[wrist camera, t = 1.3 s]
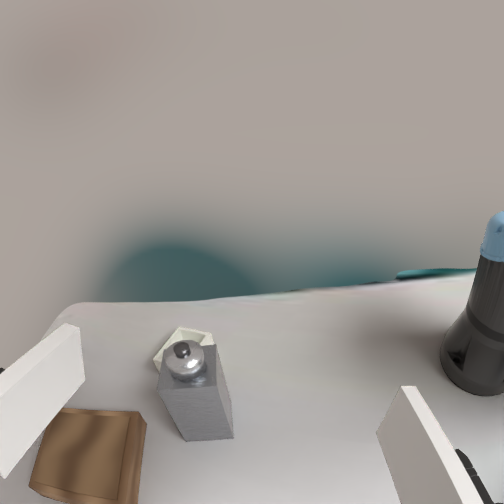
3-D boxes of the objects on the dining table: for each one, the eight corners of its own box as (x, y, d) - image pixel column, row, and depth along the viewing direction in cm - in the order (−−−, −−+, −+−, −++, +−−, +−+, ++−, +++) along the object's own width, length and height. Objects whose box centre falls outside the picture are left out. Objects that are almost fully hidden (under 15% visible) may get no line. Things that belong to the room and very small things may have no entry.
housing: (231, 401, 37) (211, 324, 31) (233, 438, 32) (210, 366, 26) (187, 405, 37) (156, 330, 31) (185, 441, 32) (147, 371, 26)
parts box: (183, 339, 50) (178, 326, 48) (214, 346, 48) (211, 333, 46) (158, 372, 43) (152, 359, 42) (191, 382, 41) (186, 369, 40)
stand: (146, 423, 34) (137, 410, 33) (136, 516, 22) (124, 508, 20) (63, 418, 34) (53, 405, 32) (42, 495, 21) (27, 485, 20)
